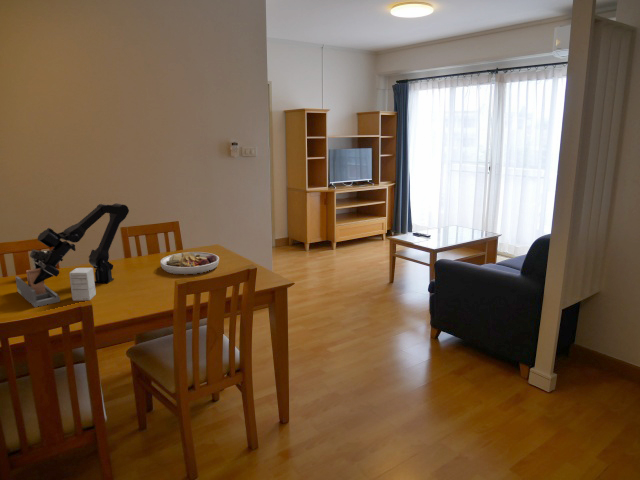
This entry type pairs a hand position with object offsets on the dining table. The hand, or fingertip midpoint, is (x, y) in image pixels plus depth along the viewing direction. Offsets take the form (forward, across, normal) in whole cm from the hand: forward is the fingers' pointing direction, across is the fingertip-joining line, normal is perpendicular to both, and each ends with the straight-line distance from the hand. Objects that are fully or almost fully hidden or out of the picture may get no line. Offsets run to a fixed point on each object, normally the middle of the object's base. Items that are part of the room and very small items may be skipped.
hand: (32, 282), depth 198 cm
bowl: (-46, +3, +57) cm, 73 cm away
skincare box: (-2, -31, +13) cm, 34 cm away
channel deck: (+4, -1, +6) cm, 7 cm away
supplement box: (-6, +14, +16) cm, 22 cm away
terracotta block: (+3, 0, +5) cm, 5 cm away
